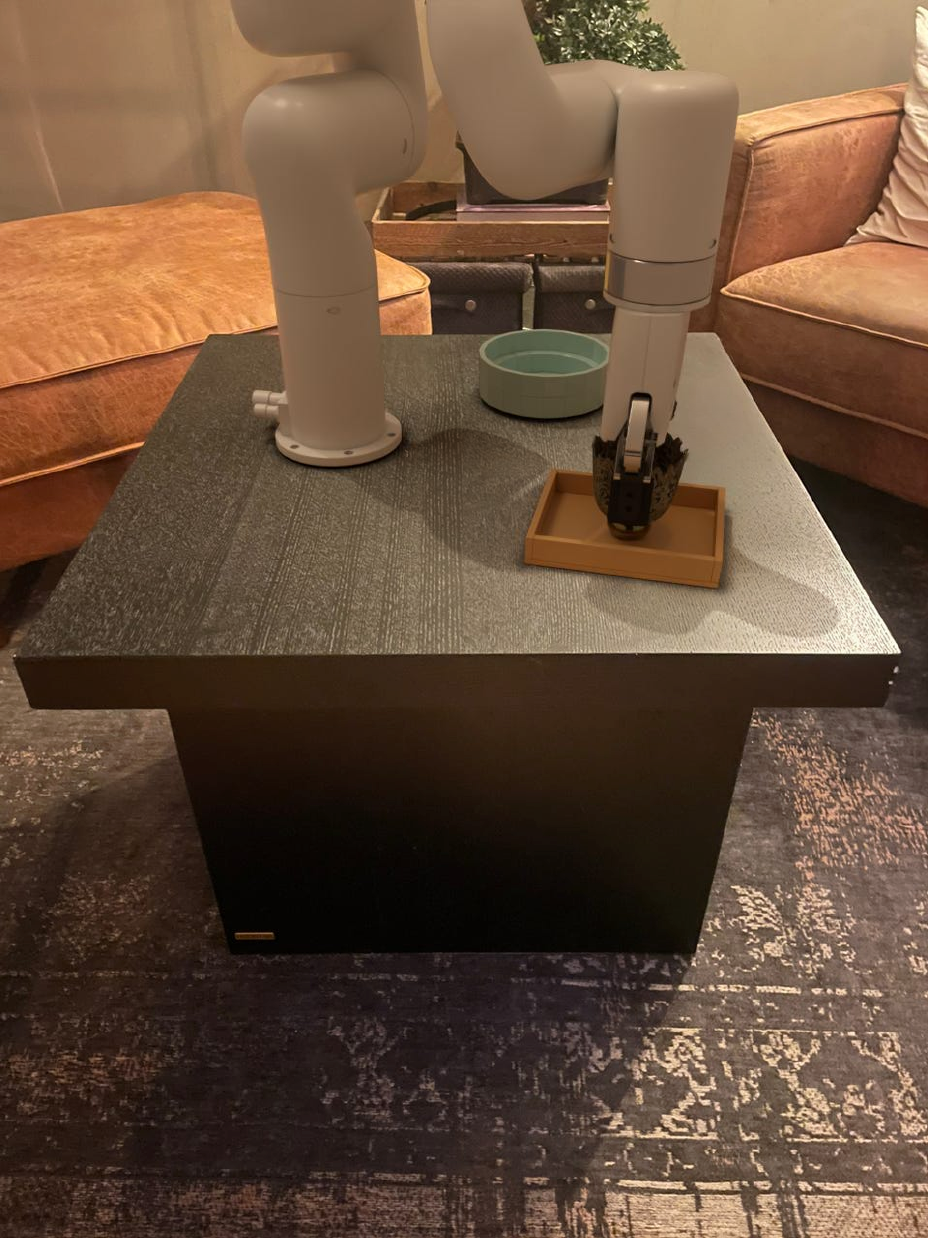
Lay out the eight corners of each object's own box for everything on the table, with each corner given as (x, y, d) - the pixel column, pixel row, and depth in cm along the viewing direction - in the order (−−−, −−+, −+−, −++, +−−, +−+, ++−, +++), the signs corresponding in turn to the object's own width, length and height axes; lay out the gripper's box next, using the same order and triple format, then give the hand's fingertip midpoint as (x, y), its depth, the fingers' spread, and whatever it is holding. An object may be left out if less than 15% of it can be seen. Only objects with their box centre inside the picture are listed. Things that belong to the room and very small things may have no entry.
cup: (575, 511, 79) (583, 425, 75) (658, 507, 80) (671, 422, 75) (594, 557, 73) (604, 467, 69) (683, 553, 74) (700, 463, 69)
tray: (524, 563, 74) (525, 536, 72) (549, 492, 83) (551, 467, 82) (717, 588, 71) (723, 561, 69) (720, 512, 80) (725, 487, 79)
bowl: (465, 415, 97) (465, 369, 94) (494, 366, 108) (495, 324, 105) (599, 428, 94) (603, 381, 92) (615, 377, 106) (619, 334, 103)
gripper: (618, 241, 72) (599, 448, 82) (588, 310, 58) (571, 547, 69) (716, 247, 71) (684, 456, 81) (709, 319, 57) (672, 560, 67)
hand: (632, 497), depth 75 cm, fingers closed on cup, 7 cm apart
